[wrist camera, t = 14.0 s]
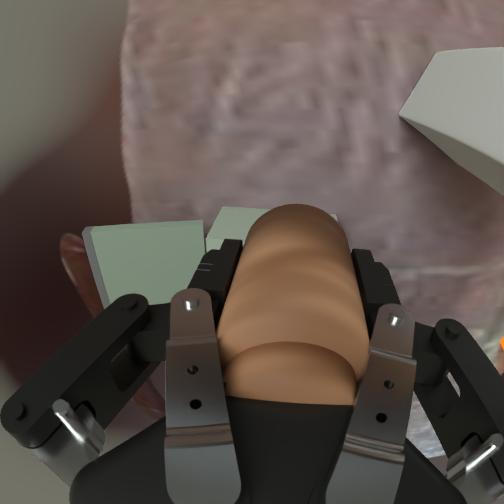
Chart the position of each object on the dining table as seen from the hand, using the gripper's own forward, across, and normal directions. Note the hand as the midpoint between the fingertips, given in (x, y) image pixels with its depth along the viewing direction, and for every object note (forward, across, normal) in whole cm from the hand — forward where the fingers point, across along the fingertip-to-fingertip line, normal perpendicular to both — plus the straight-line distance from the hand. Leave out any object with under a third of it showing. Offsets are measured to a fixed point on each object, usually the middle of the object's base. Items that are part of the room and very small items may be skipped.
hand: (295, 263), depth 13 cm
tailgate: (+11, +7, +9) cm, 16 cm away
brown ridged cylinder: (+1, 0, 0) cm, 1 cm away
